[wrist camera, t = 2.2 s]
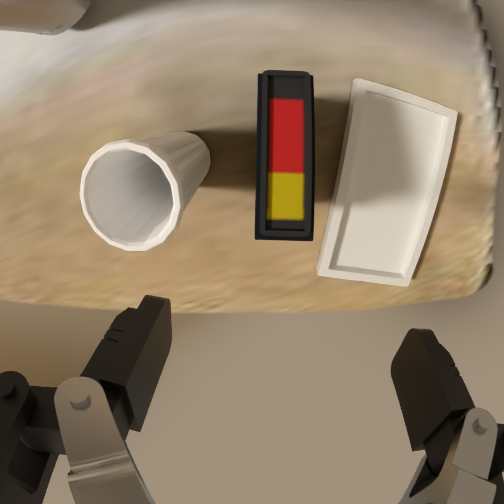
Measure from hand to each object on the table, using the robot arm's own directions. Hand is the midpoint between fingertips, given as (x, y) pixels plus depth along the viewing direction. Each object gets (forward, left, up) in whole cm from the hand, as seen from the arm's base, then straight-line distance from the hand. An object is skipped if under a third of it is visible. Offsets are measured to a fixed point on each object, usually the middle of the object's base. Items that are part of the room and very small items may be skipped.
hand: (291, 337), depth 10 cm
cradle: (0, +12, -25) cm, 28 cm away
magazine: (0, 0, -26) cm, 26 cm away
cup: (0, -11, -25) cm, 27 cm away
